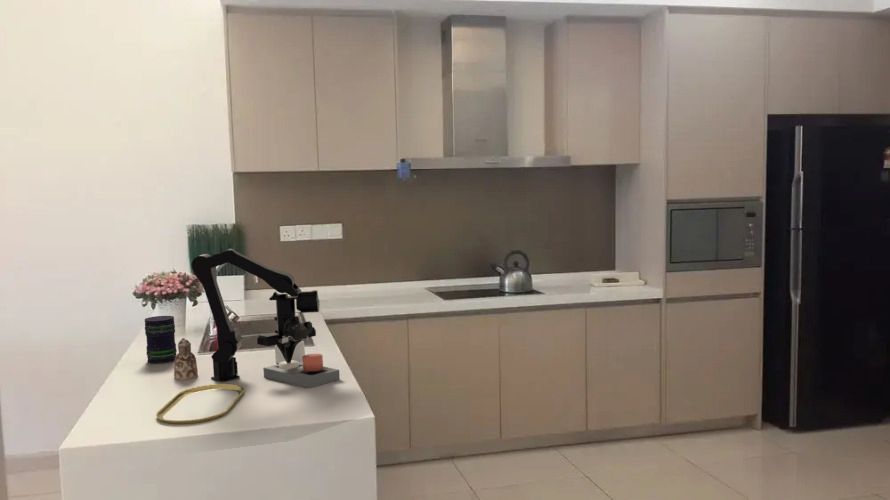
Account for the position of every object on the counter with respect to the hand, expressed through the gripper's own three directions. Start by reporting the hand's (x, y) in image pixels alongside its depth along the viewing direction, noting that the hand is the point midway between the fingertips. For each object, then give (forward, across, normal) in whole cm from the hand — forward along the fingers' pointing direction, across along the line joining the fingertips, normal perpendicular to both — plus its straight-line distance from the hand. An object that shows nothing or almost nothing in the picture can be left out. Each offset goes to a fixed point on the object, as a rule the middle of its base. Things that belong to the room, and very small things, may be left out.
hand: (288, 362), depth 244 cm
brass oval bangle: (+5, -34, -6) cm, 35 cm away
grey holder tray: (+4, 0, -6) cm, 7 cm away
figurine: (+4, -20, +27) cm, 34 cm away
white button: (+4, 0, 0) cm, 4 cm away
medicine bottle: (+4, +11, +14) cm, 18 cm away
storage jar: (+4, -13, +55) cm, 57 cm away
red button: (0, 0, -12) cm, 12 cm away
